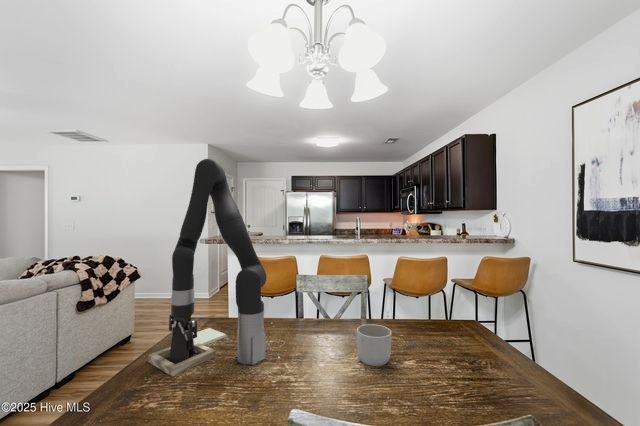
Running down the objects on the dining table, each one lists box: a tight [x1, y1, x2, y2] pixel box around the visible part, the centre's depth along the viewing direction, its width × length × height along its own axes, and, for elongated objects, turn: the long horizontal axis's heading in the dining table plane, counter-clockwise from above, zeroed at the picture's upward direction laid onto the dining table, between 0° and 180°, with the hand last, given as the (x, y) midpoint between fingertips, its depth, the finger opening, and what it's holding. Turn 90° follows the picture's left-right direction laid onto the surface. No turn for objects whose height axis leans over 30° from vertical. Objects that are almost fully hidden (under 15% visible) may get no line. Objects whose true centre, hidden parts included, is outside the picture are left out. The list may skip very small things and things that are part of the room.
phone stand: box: [168, 326, 196, 364], centre depth 107 cm, size 9×6×12 cm, turn 5°
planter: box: [356, 323, 393, 367], centre depth 107 cm, size 12×12×11 cm
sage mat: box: [193, 327, 227, 346], centre depth 125 cm, size 12×12×1 cm
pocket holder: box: [147, 341, 216, 377], centre depth 107 cm, size 16×16×2 cm
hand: (182, 346), depth 107 cm, fingers open, 8 cm apart
